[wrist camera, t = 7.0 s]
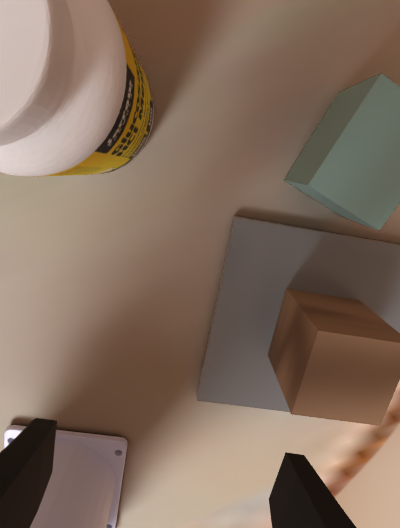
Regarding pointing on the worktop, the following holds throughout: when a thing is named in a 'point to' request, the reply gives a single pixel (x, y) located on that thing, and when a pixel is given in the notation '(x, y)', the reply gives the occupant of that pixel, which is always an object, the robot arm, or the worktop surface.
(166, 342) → the worktop surface
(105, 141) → the pill bottle
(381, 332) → the walnut block
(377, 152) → the teal block
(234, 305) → the slate coaster
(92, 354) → the worktop surface
